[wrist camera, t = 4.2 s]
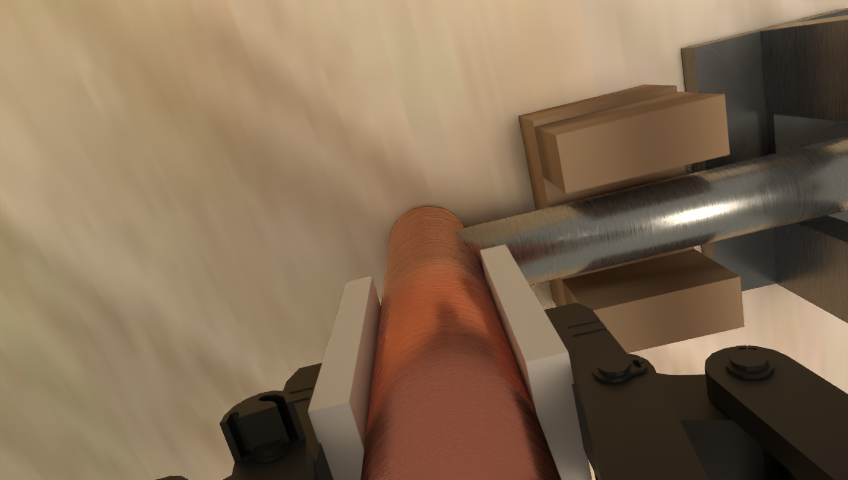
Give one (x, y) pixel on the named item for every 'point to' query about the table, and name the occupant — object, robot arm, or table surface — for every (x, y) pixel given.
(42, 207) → the table surface
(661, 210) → the hook
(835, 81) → the eye bracket
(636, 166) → the cradle
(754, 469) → the robot arm
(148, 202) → the table surface
